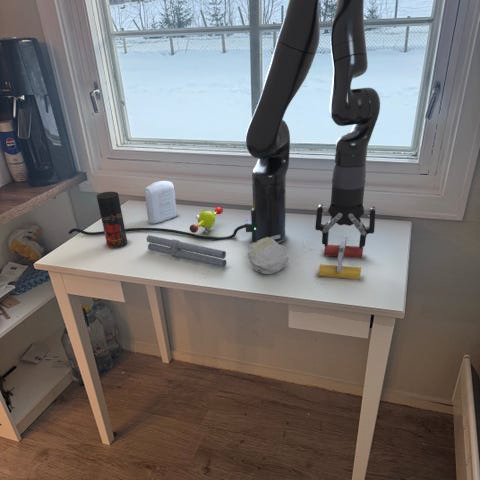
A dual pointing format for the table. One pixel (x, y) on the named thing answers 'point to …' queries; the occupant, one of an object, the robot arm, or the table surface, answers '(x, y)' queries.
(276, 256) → the fossil replica
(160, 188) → the white rounded block
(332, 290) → the table surface
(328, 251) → the red rod
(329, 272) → the yellow rod
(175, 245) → the metal rod assembly
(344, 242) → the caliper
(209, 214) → the toy figure
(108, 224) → the deodorant
